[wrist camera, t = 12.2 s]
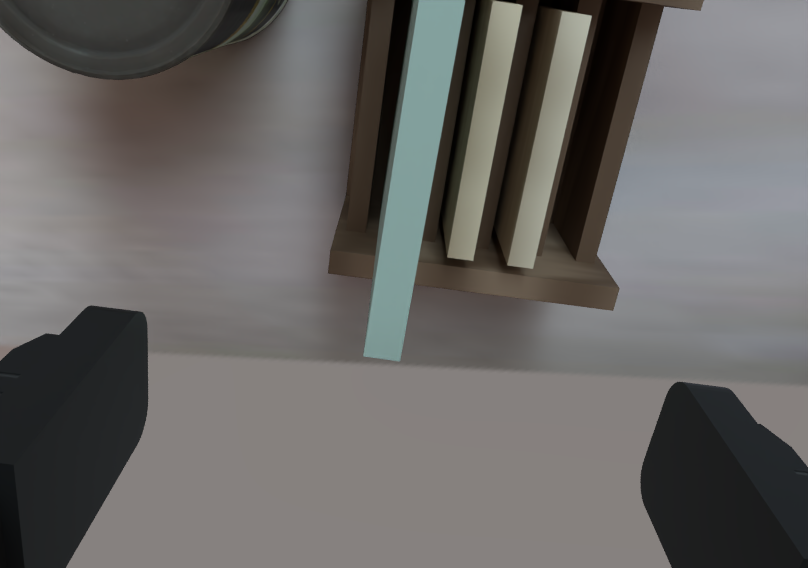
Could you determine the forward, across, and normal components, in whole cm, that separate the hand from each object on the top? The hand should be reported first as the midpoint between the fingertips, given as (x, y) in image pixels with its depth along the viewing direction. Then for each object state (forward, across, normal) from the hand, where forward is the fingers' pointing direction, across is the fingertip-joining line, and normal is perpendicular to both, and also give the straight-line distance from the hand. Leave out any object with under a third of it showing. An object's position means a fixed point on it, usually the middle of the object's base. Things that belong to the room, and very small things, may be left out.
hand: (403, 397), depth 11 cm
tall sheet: (+31, 0, 0) cm, 31 cm away
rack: (+32, -4, 0) cm, 32 cm away
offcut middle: (+31, -6, 0) cm, 31 cm away
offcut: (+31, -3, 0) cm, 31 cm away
